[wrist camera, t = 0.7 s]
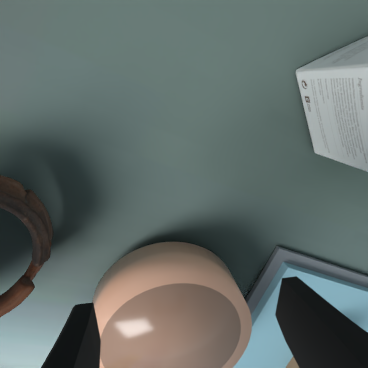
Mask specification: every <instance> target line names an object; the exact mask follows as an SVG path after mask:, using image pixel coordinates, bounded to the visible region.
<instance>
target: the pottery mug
mask: <svg viewBox="0 0 368 368" xmlns="http://www.w3.org/2000/svg"><path fill="white" fill-rule="evenodd" d="M0 208H2V209H4V210H6V211H8V212H10V213H12V214H14V215H15V216H17V217H18V218H19V219H20V220H21V221H22V222H23V223H24V224H25V226H26V227H27V229H28V230H29V232H30V234H31V237H32V244H33V252H32V261H31V263H30V265H29V267H28V269H27V271H26V272H25V274H24V275H23V276H22V277H21V278H20V279H19V280H18V281H17V282H16V283H15V284H14V285H13V286H12V287H11V288H10V289H9V290H7V291H6V292H5V293H3V294H2V295H0V317H1V316H3V315H4V314H6V313H8V312H10V311H11V310H12V309H14V308H15V307H17V306H18V305H19V304H21V302H22V301H23V300H24V299H25V298H26V297H28V295H29V294H30V293H31V292H32V291H33V289H34V288H35V286H34V284H33V282H32V280H33V278H34V277H35V275H36V273H37V272H38V271H39V270H40V269H41V267H42V265H43V264H44V262H46V261H47V260H48V259H49V258H50V252H51V250H50V247H51V240H52V238H53V228H52V223H51V220H50V217H49V215H48V212H47V210H46V208H45V206H44V204H43V203H42V202H41V200H40V199H39V198H38V197H37V195H36V194H35V193H34V192H33V191H32V190H30V189H28V190H24V188H23V185H22V184H21V183H20V182H18V181H16V180H14V179H11V178H8V177H5V176H2V175H0Z"/></svg>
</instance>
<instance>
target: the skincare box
mask: <svg viewBox="0 0 368 368" xmlns="http://www.w3.org/2000/svg"><path fill="white" fill-rule="evenodd" d="M296 76H297V80H298V84H299V89H300V93H301V97H302V102H303V106H304V110H305V114H306V119H307V123H308V127H309V131H310V135H311V139H312V144H313V148H314V152H315V153H316V154H319V155H322V156H325V157H328V158H331V159H333V160H336V161H339V162H341V163H344V164H347V165H350V166H353V167H356V168H358V169H361V170H364V171H367V172H368V36H367V37H365V38H362V39H360V40H358V41H356V42H354V43H351V44H349V45H347V46H345V47H343V48H341V49H338V50H336V51H334V52H332V53H330V54H328V55H325V56H323V57H321V58H319V59H317V60H315V61H313V62H311V63H309V64H307V65H305V66H303V67H301V68H299V69H297V70H296Z"/></svg>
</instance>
